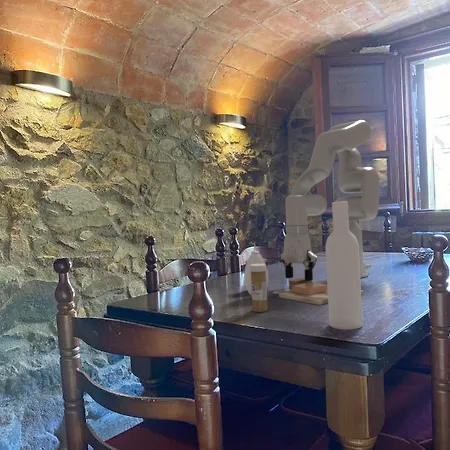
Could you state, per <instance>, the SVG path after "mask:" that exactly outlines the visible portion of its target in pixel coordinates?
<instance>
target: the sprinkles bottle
mask: <svg viewBox="0 0 450 450" xmlns="http://www.w3.org/2000/svg"><path fill="white" fill-rule="evenodd" d="M250 271H251V285H252V295H251V299H252V300H251V301H252V311H253V312H255V313H263V312H267V311H268V310H269V307H268V293H267V292H268V290H267V287H266V265H265V264H251V265H250Z"/></svg>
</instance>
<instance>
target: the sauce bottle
mask: <svg viewBox="0 0 450 450" xmlns="http://www.w3.org/2000/svg"><path fill="white" fill-rule="evenodd" d="M253 245H254V246H253V251H250V253H251V254H250V255H249V257H248V258H247V260H248V261H247V264H246V266H245V267H244V284H245V288H246V291H247V292H248V294H249V295H251V296H252V285H251V271H250V265H251V264H265V262H264V260H263V259H264V258H263V257H262V255H261V254H260V251H258V250H257V249H256V247H257V246H256V244H255V242H254V244H253ZM265 265H266V264H265ZM269 276H270V275H269V271H268V266H267V267H266V287H267V289H268V290H269V285H270V283H269V282H270V279H269V278H270V277H269Z"/></svg>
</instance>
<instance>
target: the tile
mask: <svg viewBox="0 0 450 450" xmlns="http://www.w3.org/2000/svg"><path fill="white" fill-rule="evenodd" d="M326 291H327V284H323V283H317V282H312V283H310V282H308V283H303V284H298V285H293V286H292V292H295V293H301V294H306V295H312V294H317V293H321V292H326Z"/></svg>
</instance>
